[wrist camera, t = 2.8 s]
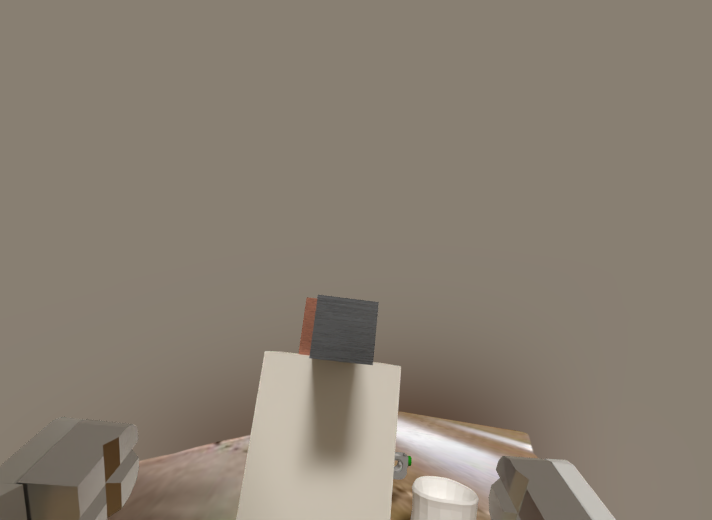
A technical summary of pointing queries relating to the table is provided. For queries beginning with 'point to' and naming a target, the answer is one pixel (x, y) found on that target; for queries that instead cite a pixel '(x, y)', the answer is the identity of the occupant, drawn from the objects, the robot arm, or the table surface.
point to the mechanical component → (401, 465)
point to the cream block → (321, 441)
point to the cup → (442, 500)
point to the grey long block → (339, 329)
